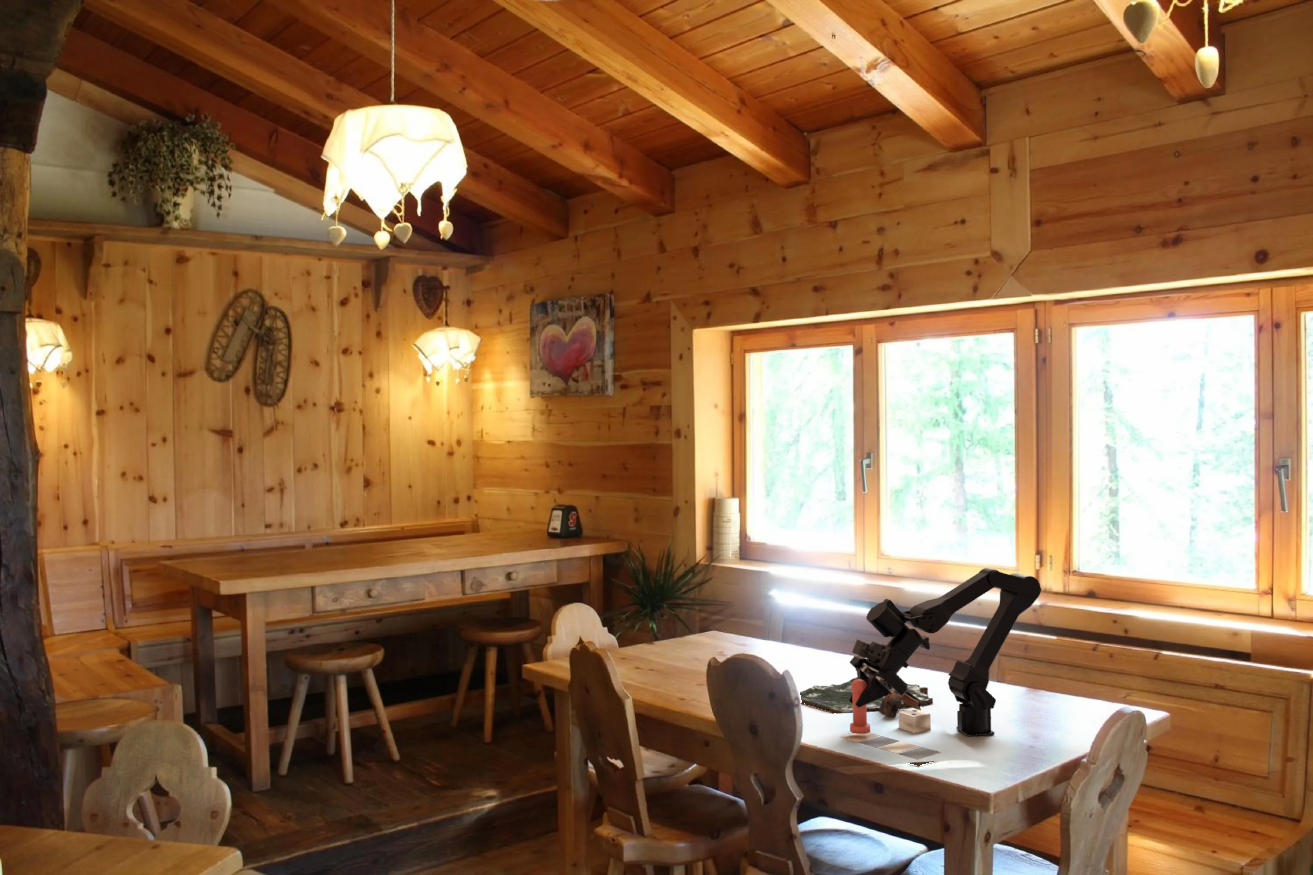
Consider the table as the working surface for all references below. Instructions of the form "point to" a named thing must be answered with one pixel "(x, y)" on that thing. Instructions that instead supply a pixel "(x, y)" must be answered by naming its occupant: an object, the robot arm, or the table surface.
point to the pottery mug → (898, 703)
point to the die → (914, 720)
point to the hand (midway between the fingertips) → (853, 703)
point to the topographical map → (839, 695)
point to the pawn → (859, 709)
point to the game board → (893, 746)
